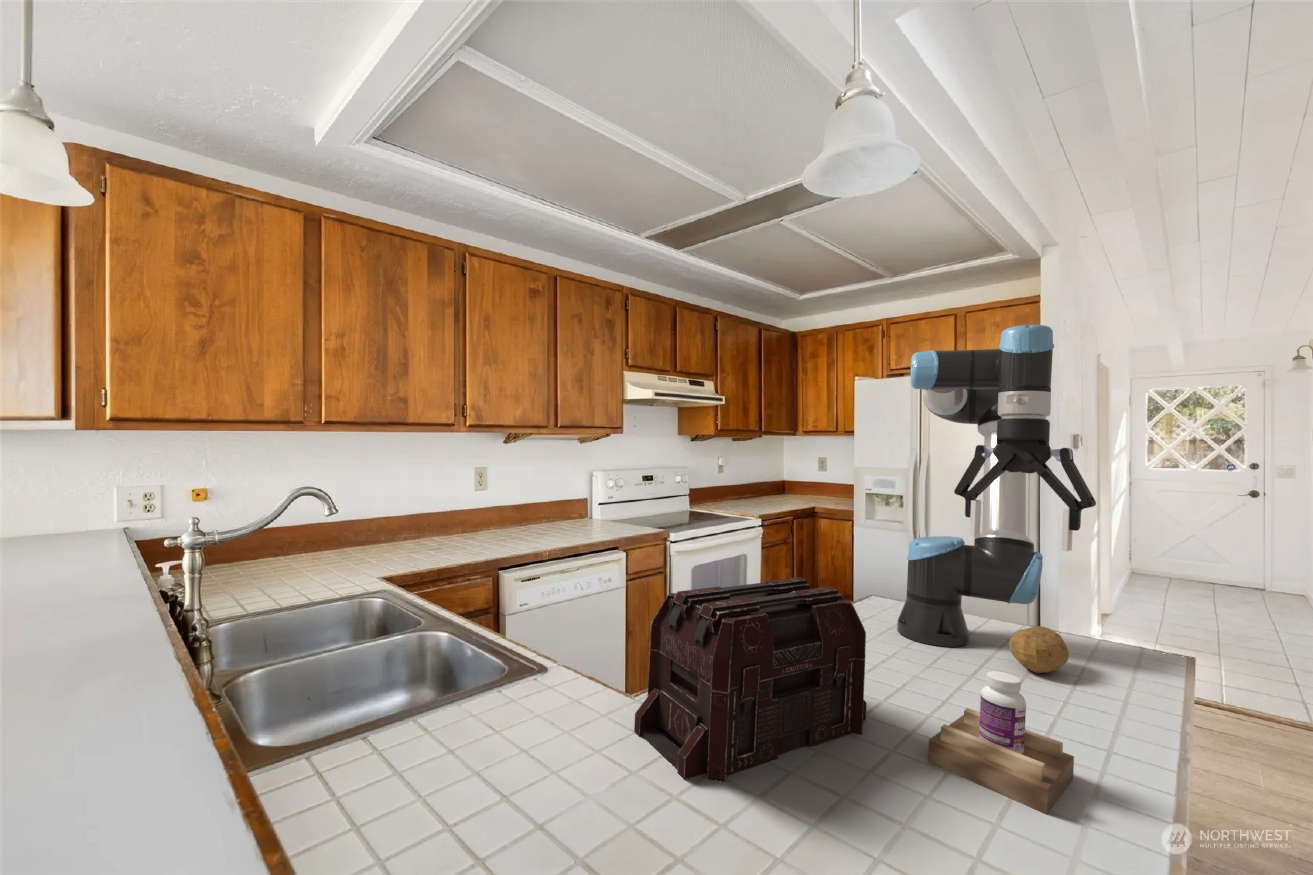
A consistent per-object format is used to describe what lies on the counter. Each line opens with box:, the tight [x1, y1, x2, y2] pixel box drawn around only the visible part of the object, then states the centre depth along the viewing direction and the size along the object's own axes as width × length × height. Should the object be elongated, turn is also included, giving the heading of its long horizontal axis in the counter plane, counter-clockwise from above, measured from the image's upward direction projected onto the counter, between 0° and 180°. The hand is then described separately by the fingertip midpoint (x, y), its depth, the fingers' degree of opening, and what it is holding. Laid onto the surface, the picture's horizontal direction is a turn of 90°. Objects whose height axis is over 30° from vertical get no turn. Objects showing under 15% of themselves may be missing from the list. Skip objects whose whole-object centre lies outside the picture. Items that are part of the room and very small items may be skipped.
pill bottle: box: [979, 670, 1027, 754], centre depth 77 cm, size 5×5×10 cm
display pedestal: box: [927, 708, 1075, 815], centre depth 77 cm, size 14×12×5 cm
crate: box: [633, 576, 867, 783], centre depth 86 cm, size 35×19×21 cm, turn 121°
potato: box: [1008, 625, 1070, 674], centre depth 114 cm, size 10×14×8 cm
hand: (1018, 543), depth 95 cm, fingers open, 13 cm apart
